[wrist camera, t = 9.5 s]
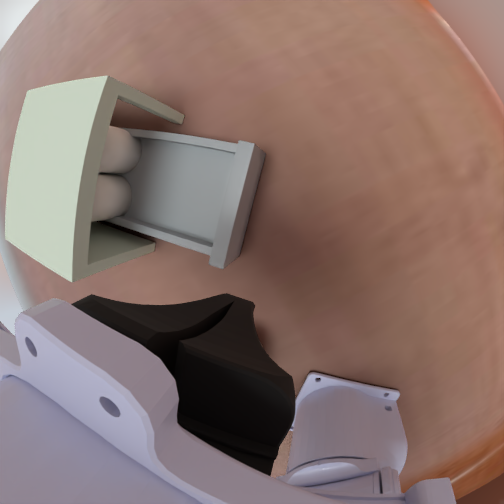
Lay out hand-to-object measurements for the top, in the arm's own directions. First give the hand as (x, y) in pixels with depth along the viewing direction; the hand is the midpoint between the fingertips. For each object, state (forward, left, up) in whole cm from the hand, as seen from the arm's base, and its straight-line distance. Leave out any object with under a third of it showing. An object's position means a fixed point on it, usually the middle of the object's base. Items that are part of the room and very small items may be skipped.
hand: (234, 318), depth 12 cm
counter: (+15, -4, -10) cm, 18 cm away
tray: (+10, -4, -10) cm, 15 cm away
